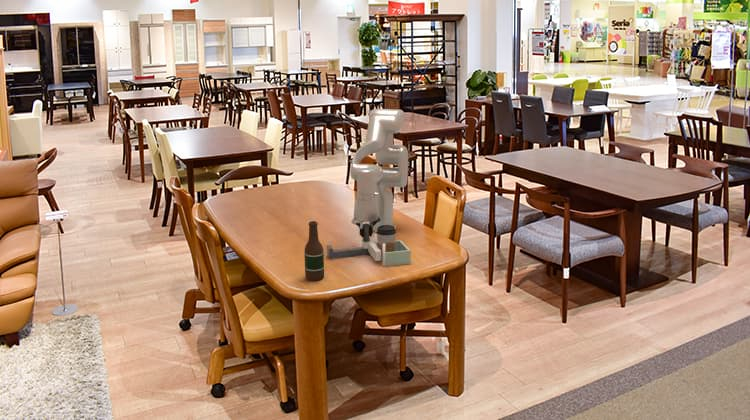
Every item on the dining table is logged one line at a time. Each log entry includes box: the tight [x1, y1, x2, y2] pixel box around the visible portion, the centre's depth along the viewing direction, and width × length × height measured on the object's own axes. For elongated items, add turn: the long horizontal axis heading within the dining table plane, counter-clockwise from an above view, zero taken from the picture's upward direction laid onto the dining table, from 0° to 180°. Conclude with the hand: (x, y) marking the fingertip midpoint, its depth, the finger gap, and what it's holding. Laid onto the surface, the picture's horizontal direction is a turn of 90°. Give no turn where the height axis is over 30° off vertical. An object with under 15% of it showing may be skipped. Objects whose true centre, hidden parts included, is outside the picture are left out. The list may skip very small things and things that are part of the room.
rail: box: [326, 244, 372, 261], centre depth 313 cm, size 5×28×5 cm, turn 105°
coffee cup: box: [376, 225, 397, 263], centre depth 305 cm, size 8×8×15 cm
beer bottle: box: [303, 220, 325, 282], centre depth 284 cm, size 8×8×24 cm
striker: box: [361, 222, 381, 262], centre depth 306 cm, size 17×6×12 cm, turn 15°
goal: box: [373, 233, 412, 268], centre depth 306 cm, size 15×12×10 cm
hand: (366, 235), depth 312 cm, fingers closed on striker, 3 cm apart
